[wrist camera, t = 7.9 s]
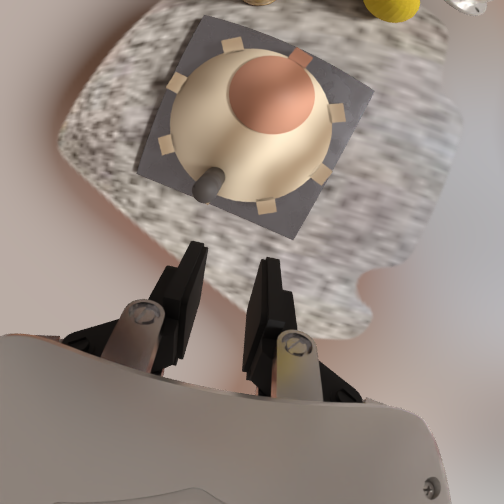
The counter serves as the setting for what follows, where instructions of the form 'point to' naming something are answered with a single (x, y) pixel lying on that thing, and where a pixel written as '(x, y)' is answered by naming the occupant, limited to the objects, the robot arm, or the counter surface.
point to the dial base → (328, 76)
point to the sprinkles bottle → (259, 2)
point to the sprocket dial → (251, 125)
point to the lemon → (393, 9)
